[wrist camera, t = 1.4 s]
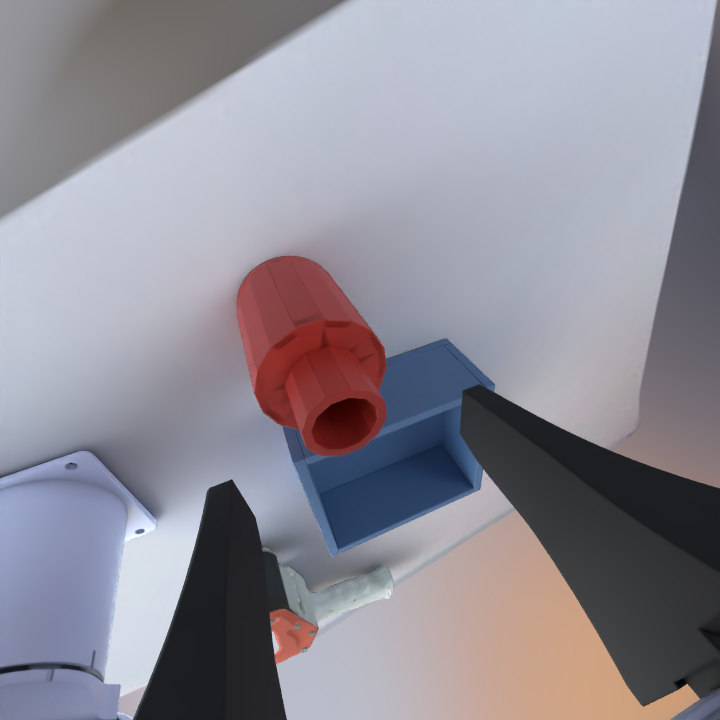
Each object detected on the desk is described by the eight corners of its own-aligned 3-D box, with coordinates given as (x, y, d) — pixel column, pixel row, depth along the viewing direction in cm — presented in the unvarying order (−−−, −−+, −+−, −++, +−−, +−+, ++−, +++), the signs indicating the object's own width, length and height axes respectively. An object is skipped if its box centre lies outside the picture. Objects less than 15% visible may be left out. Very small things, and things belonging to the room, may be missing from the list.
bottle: (255, 358, 20) (290, 497, 13) (220, 271, 17) (242, 396, 10) (343, 330, 21) (418, 445, 14) (326, 243, 18) (412, 338, 11)
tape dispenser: (387, 554, 43) (308, 494, 29) (411, 601, 39) (333, 558, 25) (259, 643, 42) (113, 627, 28) (271, 700, 38) (108, 715, 24)
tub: (312, 494, 28) (331, 557, 25) (274, 397, 22) (292, 463, 18) (444, 440, 31) (480, 489, 27) (446, 337, 24) (495, 384, 20)
